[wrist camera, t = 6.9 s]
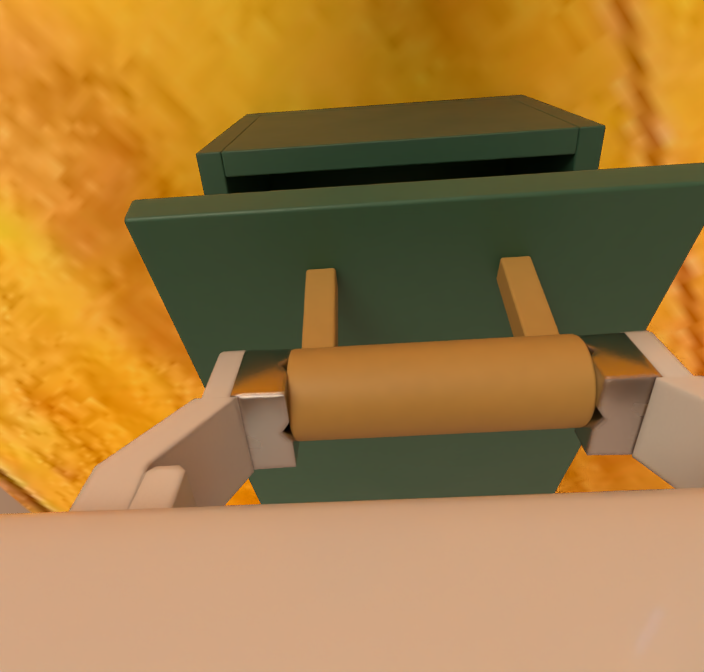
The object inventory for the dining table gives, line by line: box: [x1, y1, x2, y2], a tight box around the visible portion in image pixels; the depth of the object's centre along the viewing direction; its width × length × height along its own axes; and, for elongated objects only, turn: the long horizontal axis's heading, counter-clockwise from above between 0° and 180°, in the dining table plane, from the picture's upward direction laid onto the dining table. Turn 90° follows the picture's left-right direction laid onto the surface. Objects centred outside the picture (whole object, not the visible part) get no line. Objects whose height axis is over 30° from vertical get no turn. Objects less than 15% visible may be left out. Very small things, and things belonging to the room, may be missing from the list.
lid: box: [125, 163, 704, 504], centre depth 16 cm, size 16×13×5 cm
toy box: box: [196, 95, 605, 195], centre depth 24 cm, size 16×13×9 cm
